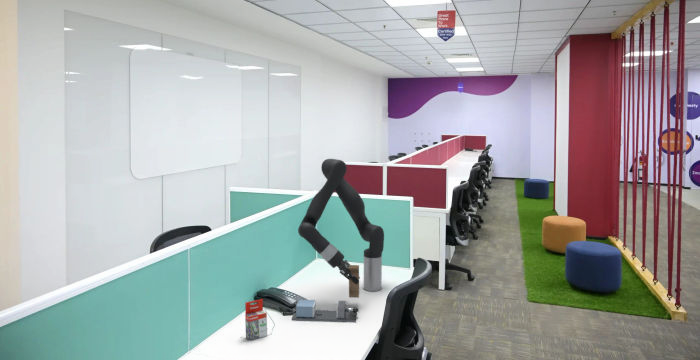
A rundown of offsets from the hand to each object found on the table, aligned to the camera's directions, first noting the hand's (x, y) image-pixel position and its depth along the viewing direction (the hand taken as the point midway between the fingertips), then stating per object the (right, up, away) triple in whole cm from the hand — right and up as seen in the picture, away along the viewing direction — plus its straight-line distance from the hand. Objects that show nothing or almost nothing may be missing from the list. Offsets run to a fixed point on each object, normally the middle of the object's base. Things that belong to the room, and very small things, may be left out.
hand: (358, 280), depth 231 cm
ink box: (-41, -17, -30) cm, 53 cm away
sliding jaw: (-23, -13, -9) cm, 28 cm away
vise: (-15, -14, -9) cm, 22 cm away
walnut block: (-2, -7, +1) cm, 7 cm away
